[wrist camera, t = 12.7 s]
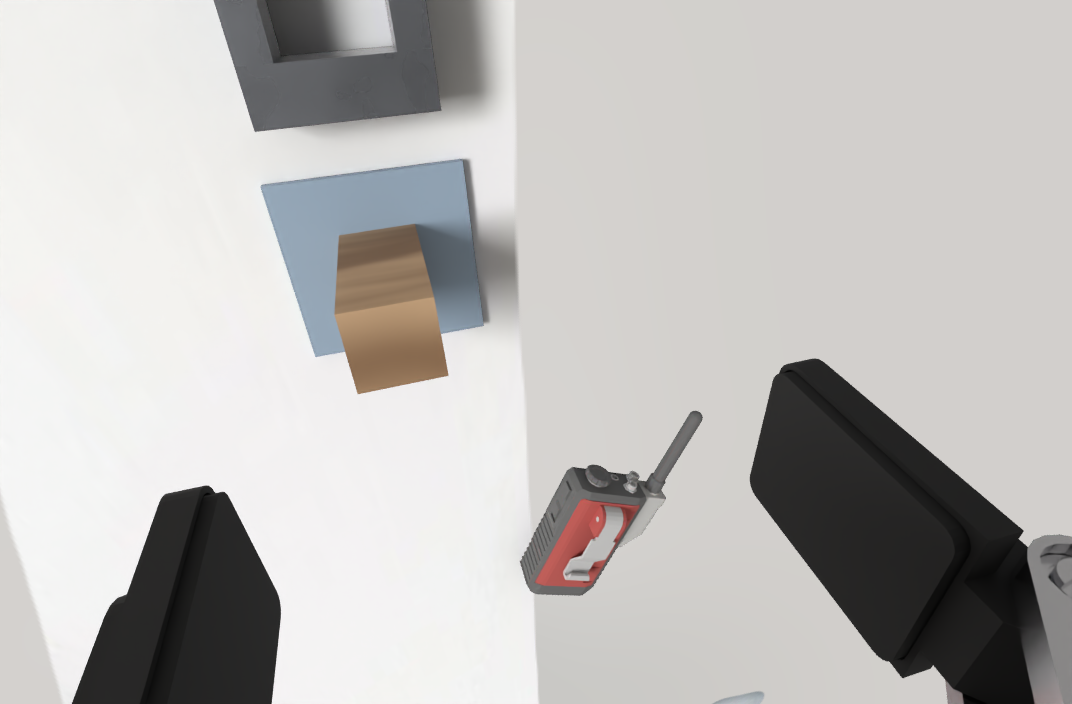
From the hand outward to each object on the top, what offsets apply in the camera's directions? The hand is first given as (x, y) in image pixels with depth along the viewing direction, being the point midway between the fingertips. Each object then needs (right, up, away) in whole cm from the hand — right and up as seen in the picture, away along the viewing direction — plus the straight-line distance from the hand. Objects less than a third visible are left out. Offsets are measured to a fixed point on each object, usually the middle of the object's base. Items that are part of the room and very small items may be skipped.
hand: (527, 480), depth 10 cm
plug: (-8, +7, +22) cm, 24 cm away
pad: (-8, +7, +22) cm, 25 cm away
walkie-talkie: (+5, -9, +38) cm, 39 cm away
